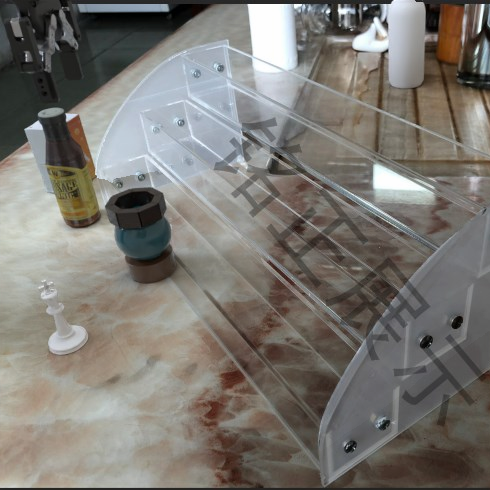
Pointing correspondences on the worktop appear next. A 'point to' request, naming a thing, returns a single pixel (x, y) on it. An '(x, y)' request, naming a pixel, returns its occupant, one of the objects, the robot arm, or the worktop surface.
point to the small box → (39, 146)
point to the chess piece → (61, 324)
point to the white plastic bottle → (406, 43)
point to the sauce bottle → (68, 170)
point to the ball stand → (147, 250)
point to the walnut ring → (138, 217)
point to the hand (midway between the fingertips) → (64, 90)
